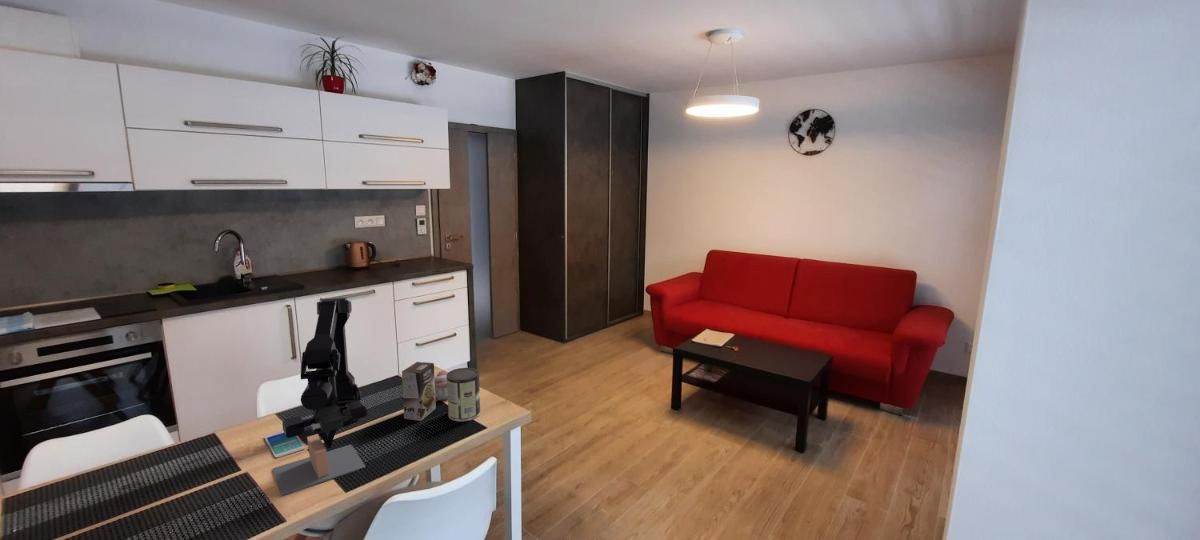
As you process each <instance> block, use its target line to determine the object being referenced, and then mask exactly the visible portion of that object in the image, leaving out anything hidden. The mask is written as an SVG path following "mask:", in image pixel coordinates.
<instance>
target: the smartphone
mask: <svg viewBox="0 0 1200 540" xmlns="http://www.w3.org/2000/svg"><path fill="white" fill-rule="evenodd" d="M263 437H264V440H265V443H266V445H267V446H268V447H269V449H270V451H271V453H272V454H273V457H274V458H275V459H280V458H284V457H286V456H290V455H293V454H296V453H299V452H303V451H305V450H306V446H305V444H304V443H303V441H302V440H301V438H300V437H299V435H298V436H294V437H291V438H286V435H285V433H284V431H283V430H280V431H277V432H274V433H270V434H267V435H265V436H263Z"/></svg>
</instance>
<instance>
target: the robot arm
mask: <svg viewBox="0 0 1200 540" xmlns="http://www.w3.org/2000/svg"><path fill="white" fill-rule="evenodd" d="M351 313H352V301H351V300H348V299H347V297H337V298H336V297H335V298H323V299H322V300H321V301H317V302H316V315H318V316H317V322H316V326H315V327H316V328H315V331H314V335H313V336H314V337H312V339H310V340H309V341H308V342H307V343H306V345H305V346H306V347H305V350H304V351H303V352H302V353H301V354H302V355H301V366H300V368H301V369H300V380H307V384H306V387H305V389H304V391H303V392H302V394H301V396H300V403H301V405H302V406H303V407H304V408H305V409H306V410H310V411H312V417H308V418H304V419H302V417H301V415H296V416H294V417H293V416H292V417H290V418H284V420H283V421H282V423H281V424H282V431H284V433H285V435H286V438H291V437H294V436H298V437H299V436H301V435H303V434H304V433H305V429H306V428H307V427H309V429H310V430H311V432H312V434H318V436H319V437H320V438H321V439H322V442H323V444H324V446H326V447H325V448H326V450H327V449H329V450H330V449H331V448H332V445H333V441H334V439H335V435H336V433H337V430H338V429H341V428H342V427H343V426H344V425H349V424H352V423H355V422H358V421H360V419H362V418H366V417H367V416H368V411H367V410H368V409H367V407H366V405H365V403H364V402H362V393H361V390H360V388H359V387H358V384H357V383H356V382H355V380H356V379H355V377H354V375H353V374H352V373H351V372H350V371H349V363H348V352H347V350H348V348H347V339H346V338H347V336H346V323H348V320H349V319H350V316H351ZM307 369H308V370H307Z"/></svg>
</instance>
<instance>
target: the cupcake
mask: <svg viewBox="0 0 1200 540" xmlns="http://www.w3.org/2000/svg"><path fill="white" fill-rule="evenodd" d="M448 372H449V371H448V370H446V369H443V370H440V371H438V373H437V374H436V375H434V379H435V400H438V401H444V400H445V401H448V392H447V378H446V375H447V373H448Z"/></svg>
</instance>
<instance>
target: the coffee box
mask: <svg viewBox="0 0 1200 540" xmlns="http://www.w3.org/2000/svg"><path fill="white" fill-rule="evenodd" d="M434 377H435V363H433V362H428V361H427V362H424V361H423V362H422V361H416V362H415V363H413V364H412V365H410V366H408V367H406V368H405V369H404V370H402V371H401V379H402V380H401V381H402V382H401V383H402V398H403V399H402V401H403V402H402V404H403V418H404V419H405V420H413V421H419V422H421V421H423V420H424V419H425V418H427V416H428V415H430V414H431V413H433V411H435V410H436V408H437V407H436V399H435V379H434Z"/></svg>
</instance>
